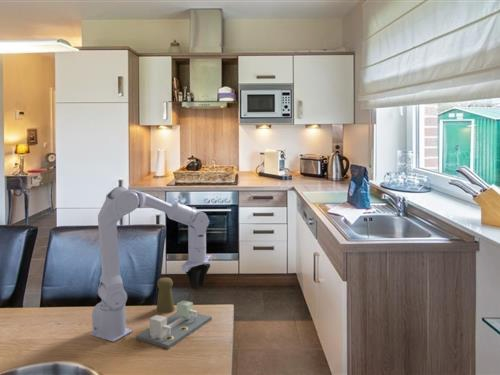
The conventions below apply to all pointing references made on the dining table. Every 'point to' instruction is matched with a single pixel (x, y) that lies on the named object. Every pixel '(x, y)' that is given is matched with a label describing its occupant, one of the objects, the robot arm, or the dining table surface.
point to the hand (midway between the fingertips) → (197, 286)
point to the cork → (165, 296)
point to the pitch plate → (171, 329)
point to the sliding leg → (185, 309)
